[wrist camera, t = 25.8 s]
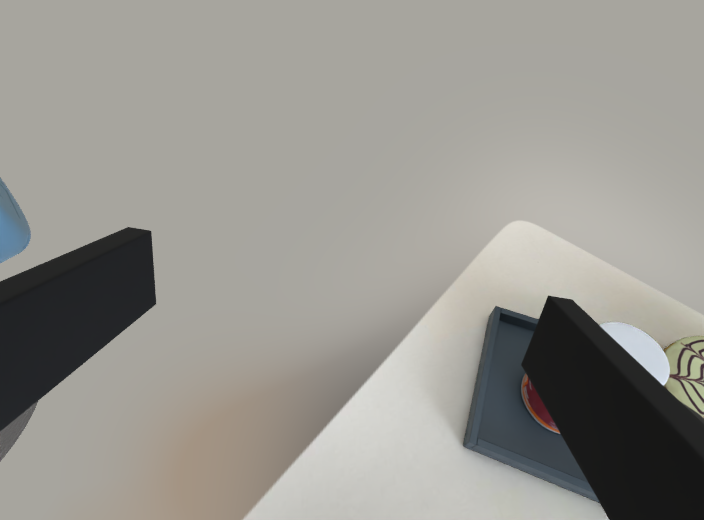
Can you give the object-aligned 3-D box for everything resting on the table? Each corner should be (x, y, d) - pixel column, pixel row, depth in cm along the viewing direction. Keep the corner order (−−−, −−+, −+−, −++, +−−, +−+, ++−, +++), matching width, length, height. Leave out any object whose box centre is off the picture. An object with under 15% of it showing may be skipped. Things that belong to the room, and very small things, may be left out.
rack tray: (462, 446, 31) (469, 441, 29) (489, 316, 38) (495, 305, 36) (634, 517, 27) (654, 517, 26) (628, 360, 34) (644, 352, 33)
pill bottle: (517, 358, 34) (571, 302, 25) (587, 372, 33) (669, 319, 24) (519, 427, 31) (583, 390, 22) (597, 445, 30) (698, 415, 21)
